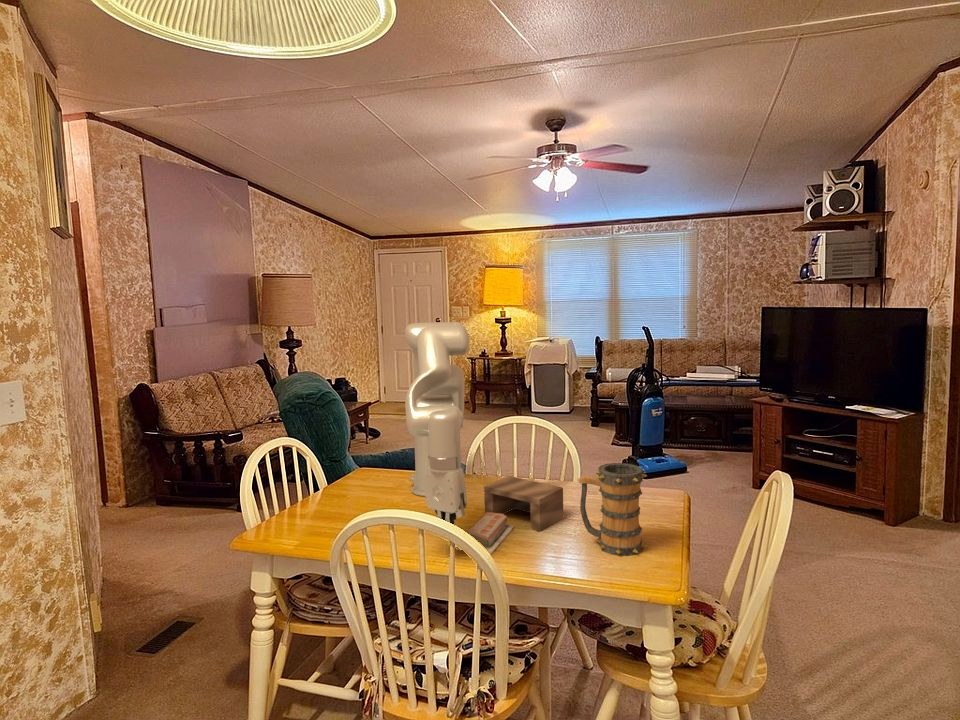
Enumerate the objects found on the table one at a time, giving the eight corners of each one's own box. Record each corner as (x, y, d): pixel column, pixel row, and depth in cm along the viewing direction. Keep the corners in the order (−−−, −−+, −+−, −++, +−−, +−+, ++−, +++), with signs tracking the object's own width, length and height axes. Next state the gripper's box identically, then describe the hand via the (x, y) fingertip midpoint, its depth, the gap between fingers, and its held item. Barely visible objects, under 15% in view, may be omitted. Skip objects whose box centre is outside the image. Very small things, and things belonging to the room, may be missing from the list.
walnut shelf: (484, 516, 169) (484, 486, 168) (509, 504, 178) (508, 476, 178) (540, 531, 157) (539, 499, 156) (563, 518, 166) (563, 487, 166)
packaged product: (480, 508, 163) (514, 513, 160) (480, 525, 164) (514, 530, 160) (453, 533, 147) (490, 538, 143) (454, 551, 147) (491, 557, 144)
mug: (646, 560, 138) (646, 478, 136) (573, 553, 144) (572, 473, 142) (648, 539, 151) (648, 463, 149) (580, 532, 156) (580, 459, 154)
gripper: (412, 461, 143) (415, 534, 144) (458, 470, 133) (460, 548, 135) (433, 455, 148) (436, 525, 150) (479, 463, 139) (481, 538, 140)
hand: (447, 536), depth 142 cm, fingers closed
